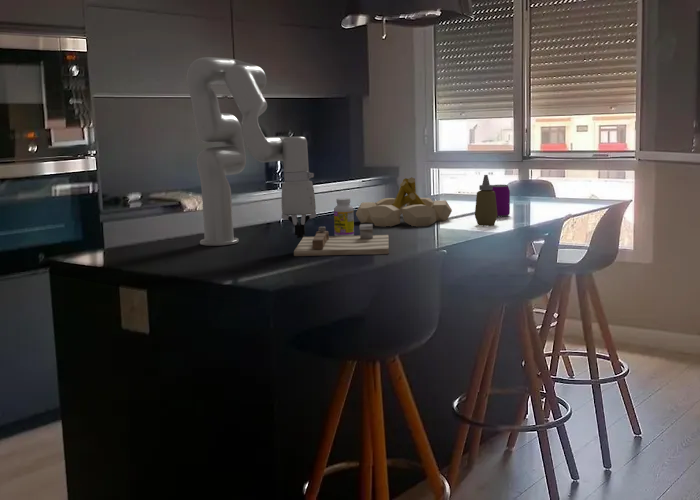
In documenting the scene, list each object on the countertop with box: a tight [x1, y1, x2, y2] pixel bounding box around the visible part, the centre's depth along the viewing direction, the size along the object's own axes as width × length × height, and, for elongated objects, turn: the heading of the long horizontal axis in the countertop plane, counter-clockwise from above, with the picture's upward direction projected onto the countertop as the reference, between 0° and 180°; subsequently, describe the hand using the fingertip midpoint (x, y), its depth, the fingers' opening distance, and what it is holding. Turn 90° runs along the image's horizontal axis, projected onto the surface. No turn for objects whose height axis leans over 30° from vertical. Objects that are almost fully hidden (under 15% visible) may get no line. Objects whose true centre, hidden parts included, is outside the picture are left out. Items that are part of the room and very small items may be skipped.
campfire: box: [355, 176, 453, 227], centre depth 314 cm, size 35×34×17 cm
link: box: [312, 230, 330, 249], centre depth 256 cm, size 20×4×2 cm, turn 177°
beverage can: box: [492, 184, 511, 218], centre depth 320 cm, size 8×8×12 cm
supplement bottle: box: [333, 197, 355, 236], centre depth 280 cm, size 7×7×13 cm
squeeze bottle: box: [474, 174, 498, 227], centre depth 296 cm, size 8×8×18 cm
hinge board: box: [293, 223, 390, 257], centre depth 258 cm, size 28×28×6 cm
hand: (300, 237), depth 254 cm, fingers closed
